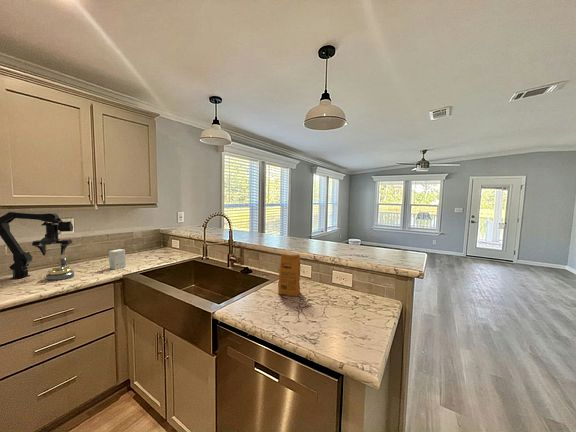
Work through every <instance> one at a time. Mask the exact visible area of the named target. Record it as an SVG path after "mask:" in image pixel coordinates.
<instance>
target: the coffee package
mask: <svg viewBox="0 0 576 432" xmlns="http://www.w3.org/2000/svg"><path fill="white" fill-rule="evenodd" d="M278 273H279V274H278V281H277V283H278V284H277V285H278V287H277V289H278V291H277V294H278V295H284V296H287V297H297V296H299V294H300V293H301V286H300V284H301V283H300V280H301V255H300V254H291V255H290V254H286V253H281V255H280V264H279V271H278Z"/></svg>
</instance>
